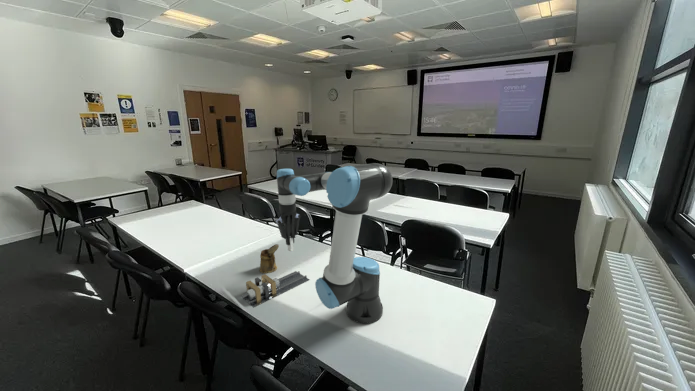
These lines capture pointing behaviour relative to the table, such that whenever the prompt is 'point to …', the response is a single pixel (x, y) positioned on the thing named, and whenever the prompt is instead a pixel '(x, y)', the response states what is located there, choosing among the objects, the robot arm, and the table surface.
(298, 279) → the dark grey base rail
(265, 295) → the aperture bridge
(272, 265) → the wooden mug
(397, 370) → the table surface
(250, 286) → the collar
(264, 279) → the collar
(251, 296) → the tube
